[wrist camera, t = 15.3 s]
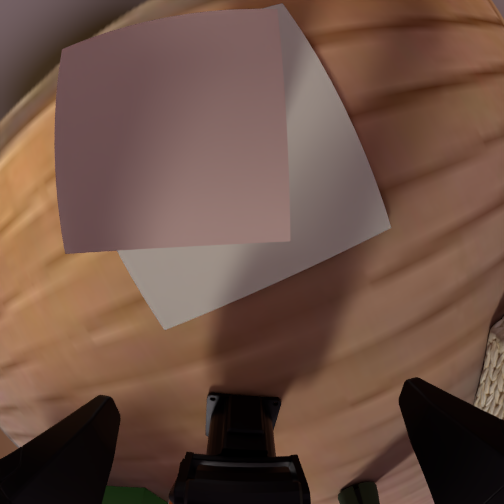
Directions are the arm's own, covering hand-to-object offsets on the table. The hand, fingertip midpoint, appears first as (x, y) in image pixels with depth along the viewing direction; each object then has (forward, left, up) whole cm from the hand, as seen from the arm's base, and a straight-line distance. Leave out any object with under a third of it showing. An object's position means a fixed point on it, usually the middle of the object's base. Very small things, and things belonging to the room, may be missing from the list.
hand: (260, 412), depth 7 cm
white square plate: (+7, +3, -13) cm, 15 cm away
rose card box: (+7, +3, -12) cm, 14 cm away
